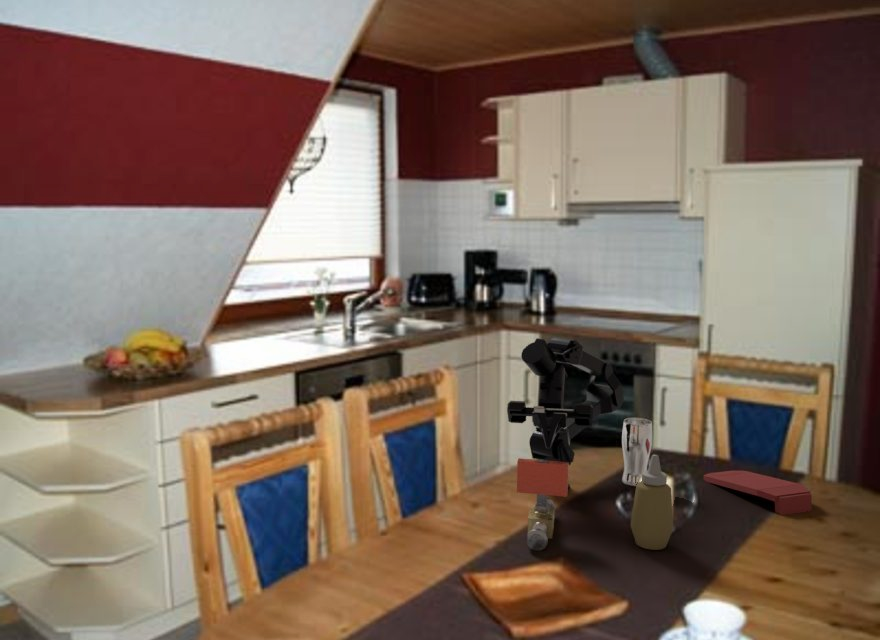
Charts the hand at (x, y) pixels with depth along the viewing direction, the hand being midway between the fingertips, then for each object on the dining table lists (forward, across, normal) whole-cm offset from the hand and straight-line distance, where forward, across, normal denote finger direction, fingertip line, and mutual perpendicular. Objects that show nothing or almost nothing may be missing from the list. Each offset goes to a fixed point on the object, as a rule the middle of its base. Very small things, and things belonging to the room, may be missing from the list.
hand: (548, 447), depth 173 cm
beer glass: (-4, -20, -24) cm, 32 cm away
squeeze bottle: (+21, -21, +2) cm, 30 cm away
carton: (-3, -47, -24) cm, 53 cm away
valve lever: (+16, 0, +4) cm, 16 cm away
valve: (+19, 0, +1) cm, 19 cm away
